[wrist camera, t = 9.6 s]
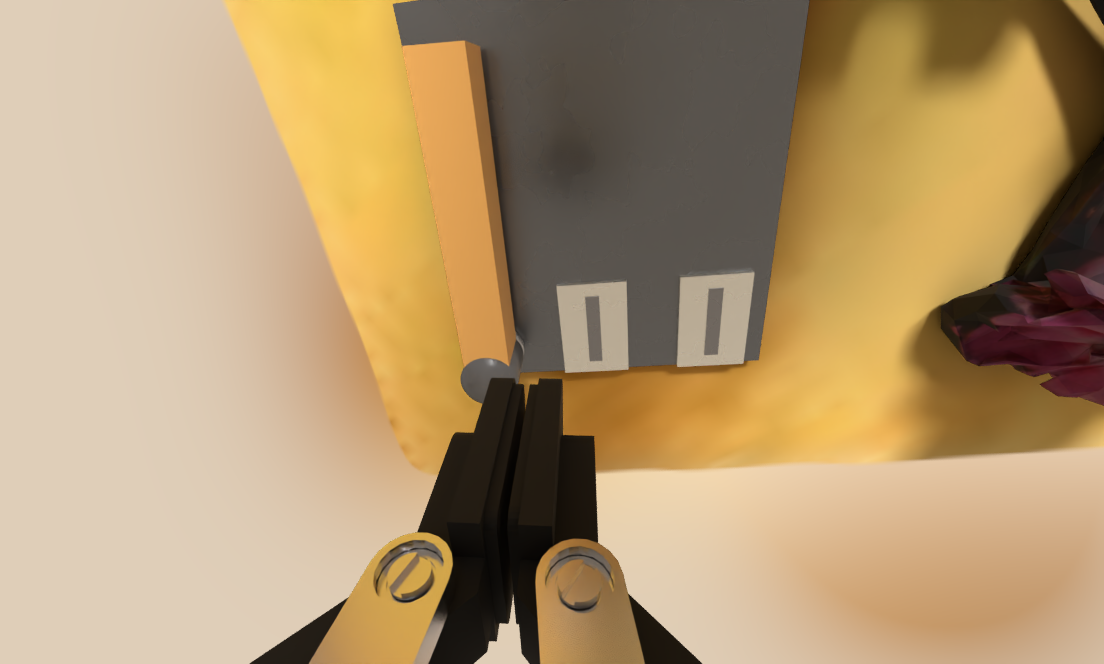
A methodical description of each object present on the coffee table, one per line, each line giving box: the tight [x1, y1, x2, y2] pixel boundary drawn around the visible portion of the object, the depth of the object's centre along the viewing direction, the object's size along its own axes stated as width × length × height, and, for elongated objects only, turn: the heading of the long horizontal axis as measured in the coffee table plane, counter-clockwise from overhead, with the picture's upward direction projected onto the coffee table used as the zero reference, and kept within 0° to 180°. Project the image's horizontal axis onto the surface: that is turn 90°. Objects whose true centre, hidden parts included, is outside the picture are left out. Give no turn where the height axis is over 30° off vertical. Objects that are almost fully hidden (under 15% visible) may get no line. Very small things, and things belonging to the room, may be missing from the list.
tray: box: [393, 0, 810, 373], centre depth 24 cm, size 20×18×2 cm
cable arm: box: [402, 40, 524, 404], centre depth 23 cm, size 18×3×3 cm, turn 4°
